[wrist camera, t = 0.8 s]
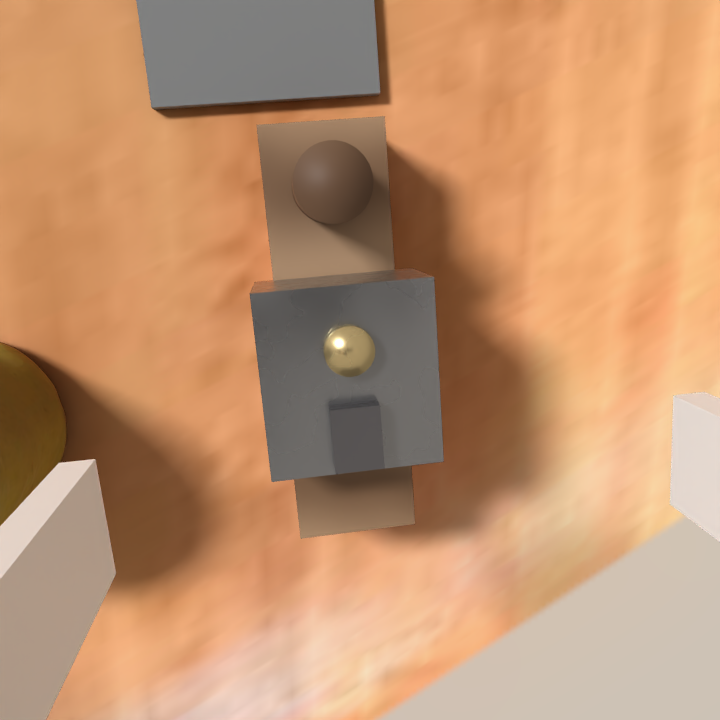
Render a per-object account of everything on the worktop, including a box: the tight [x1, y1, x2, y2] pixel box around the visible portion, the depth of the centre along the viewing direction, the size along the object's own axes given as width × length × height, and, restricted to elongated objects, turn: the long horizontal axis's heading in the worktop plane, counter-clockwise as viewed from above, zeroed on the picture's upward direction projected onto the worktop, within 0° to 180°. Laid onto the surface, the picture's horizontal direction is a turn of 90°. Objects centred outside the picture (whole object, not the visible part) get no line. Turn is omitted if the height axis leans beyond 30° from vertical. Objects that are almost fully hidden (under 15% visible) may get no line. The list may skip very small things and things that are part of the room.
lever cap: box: [250, 268, 444, 482], centre depth 25 cm, size 7×6×5 cm
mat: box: [136, 0, 380, 110], centre depth 28 cm, size 10×8×1 cm
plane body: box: [257, 116, 415, 539], centre depth 28 cm, size 17×5×8 cm, turn 4°
